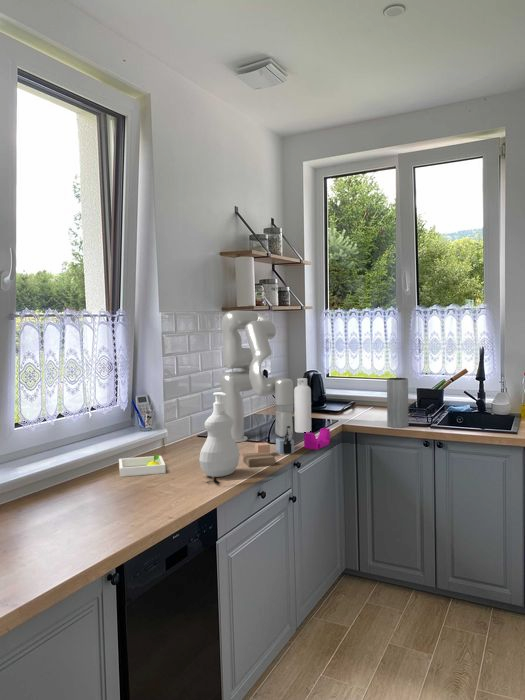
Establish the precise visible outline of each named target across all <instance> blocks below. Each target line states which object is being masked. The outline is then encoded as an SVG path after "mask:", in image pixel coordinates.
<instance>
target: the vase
mask: <svg viewBox="0 0 525 700" xmlns="http://www.w3.org/2000/svg"><path fill="white" fill-rule="evenodd" d="M386 404H387V405H386V409H387V410H386V413H387V414H386V421H387V422H386V423H387V427H388V428H391V429H405V428H409V423H410V422H409V419H410V418H409V379H408V378H406V377H389V378H387V379H386Z"/></svg>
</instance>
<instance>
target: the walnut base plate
mask: <svg viewBox="0 0 525 700" xmlns="http://www.w3.org/2000/svg"><path fill="white" fill-rule="evenodd" d="M275 458H276V457H275V456H273V455H272V454H271V453H270V454H269V453H268V452H260V453H255V452H252V453H251V452H250V453H243V454H242V463H244V464H245V465H246V466H247V467H248V468H256V467H267V466H275V465H276V462H275V460H276V459H275Z"/></svg>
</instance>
